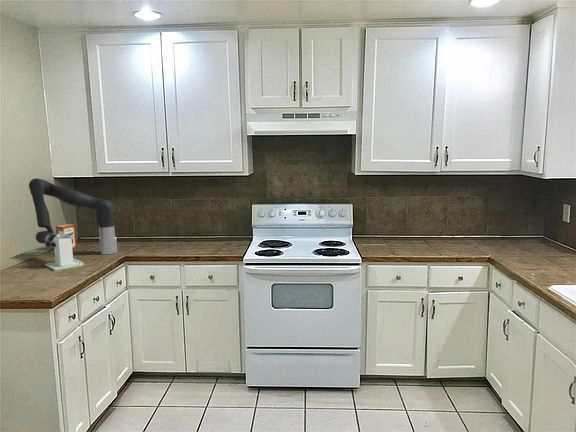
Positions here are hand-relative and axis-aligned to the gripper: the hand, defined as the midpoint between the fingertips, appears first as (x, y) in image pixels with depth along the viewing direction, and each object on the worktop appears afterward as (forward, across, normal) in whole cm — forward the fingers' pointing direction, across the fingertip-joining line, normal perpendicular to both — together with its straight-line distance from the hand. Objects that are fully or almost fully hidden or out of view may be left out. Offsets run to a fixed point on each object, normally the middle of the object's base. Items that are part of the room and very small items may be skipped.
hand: (63, 244), depth 252 cm
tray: (0, 0, +12) cm, 12 cm away
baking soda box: (-47, +16, +13) cm, 51 cm away
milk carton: (0, 0, +12) cm, 12 cm away
